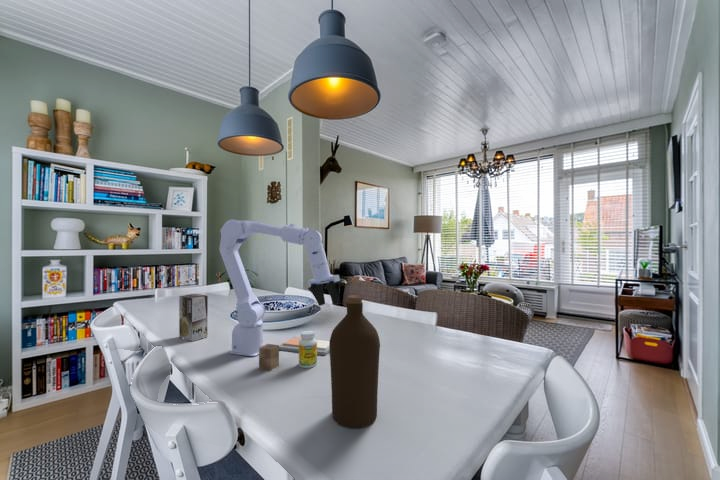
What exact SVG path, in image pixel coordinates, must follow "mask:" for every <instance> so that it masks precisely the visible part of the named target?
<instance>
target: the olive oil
mask: <svg viewBox="0 0 720 480" xmlns="http://www.w3.org/2000/svg"><path fill="white" fill-rule="evenodd" d="M346 299H347V302H346V315H345V316H344V317H343V318H342V319H341V320H340V321H339V322H338V324H337V325H336V326H335V327H333V329H332V332H331V334H330V338H329V341H330V343H329V347H330V352H329V362H330V378H331V379H330V385H331V386H330V387H331V415H332V419H333V421H334V422H335V423H336V424H337V425H339V426H340V427H341V426H342V427H344V428H347V429H348V428H350V429H361V428H365V427H368V426H370V425H371V424H373V422H375V421H376V419H377V416H378V394H379V393H378V391H379V367H380V353H381V352H380V351H381V350H380V348H381V341H380V336H379V332H378V331H377V329H376V328H375V326H374V325H373V324H372V323H371V322H370V320H369V319H368V318H366V316H365V315H364V314H363V311H364V310H363V309H364V307H363V305H364V303H363V296H362V295H357V294H356V295H354V294H352V295H347V297H346Z"/></svg>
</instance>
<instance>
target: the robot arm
mask: <svg viewBox="0 0 720 480" xmlns="http://www.w3.org/2000/svg"><path fill="white" fill-rule="evenodd" d="M219 231H220V234H221V236H220V244H219V249H218V250H219V253H220V255H221V258H222V260H223V264H224V266H225V268H226V272H227V274H228V278H229V280H230V283H231V285H232V289H233V291H234V294H235V296H236V299H237V302H236V307H235V308H236V311H237V314H236V315H237V316H236V319H237V323H238V324H235V326H234V327H233V329H232V331H231V351H230V352H229V353H230V354H232V355H239V356H247V357H256V356H259V348H260V347H262V346H264V343H263V342H264V322H263V318H264V317H265V313H266V308H265V306H264V305H263V304H262V303H261V302H260V301H259V298H258V297H257V295H256V294H254V291H253V289H252V286H251V283H250V281H249V277H248V275H247V272H246V270H245V267H244V264H243V261H242V258H241V256H240V253H239V250H240V247H241V246H242V244H243V243H244V242H245V241H246V240H248V239H249V238H250V236H251V235H252V236H255V235H256V234H263V235H264V234H265V235H269V236H270V235H271V236H276V237H280V239H281V240H282V241H283V242H285V243H291V244H295V245H300V246H302V245H304V246H305V247H306V250H307V257H308V261H309V265H310V268H311V272H312V273H311V274H312V277H313V278H312V279H308V280H307V283H308V286H309V287H308V288H307V290H308V291H309V292H310V293H311V294H312V295H313V297H314V298H315V300H316V302H317V304H318V306H324V305H325V304H326V300H325V294H324V287H325V288H326V290H327V292H328V294H329V296H330V299H331V302H332V304H333V306H335V305H338V304H340V293H341V292H340V290H341V286H342V280H341V278H340V274H331V271H330V267H329V263H328V259H327V255H326V251H325V249H324V244H323V243H322V241H323V237H322V234H321V233H320V232H319V231H317V230H316V229H309V227H299V226H296V225H295V224H294V223H290V224H285V225H284V226H281V227H280V226H276V225H271V224H267V223H264V222H263V223H262V222H260V221H259V222H258V221H255V220H243V219H241V220H237V219H229V220H226V222H225V223H224V224H223V225H222V227H221V228H220V230H219Z"/></svg>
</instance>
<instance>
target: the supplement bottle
mask: <svg viewBox="0 0 720 480" xmlns="http://www.w3.org/2000/svg"><path fill="white" fill-rule="evenodd" d="M315 333H316V332H315V331H314V330H305V331H301V333H300V338H302V339H301V340H300V341H299V352H298V365H299V366H298V367H300V368H303V369H310V368H311V369H312V368H314V367H315V366H316V365H317V364H318V354H317V340H318V339H316V338H315V336H316V334H315Z"/></svg>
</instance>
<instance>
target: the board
mask: <svg viewBox="0 0 720 480" xmlns="http://www.w3.org/2000/svg"><path fill="white" fill-rule="evenodd" d="M301 339H302V338H301V337H296V336H293V337H292V338H290V339H288V340H286V341H285V342H283V343H281V344H278V345H279V351H280V350H281V351H287V352H293V353H294V352H295V353H299V341H300V340H301ZM316 340H317V356H318V355H319V356H327V355H329V354H330V347H329V343H330V340H323V339H316Z"/></svg>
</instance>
